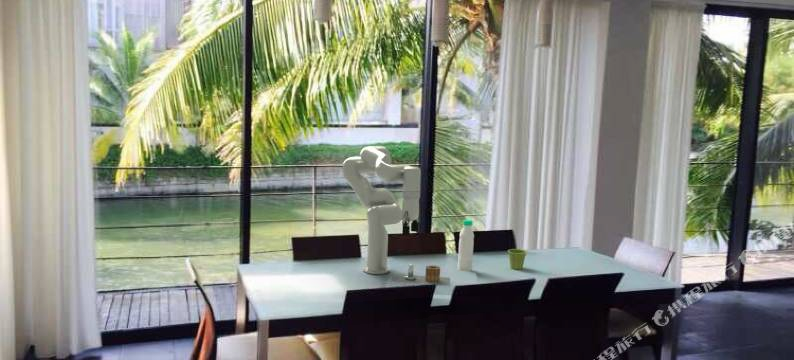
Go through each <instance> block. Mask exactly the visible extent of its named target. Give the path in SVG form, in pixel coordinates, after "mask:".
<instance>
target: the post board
mask: <svg viewBox="0 0 794 360" xmlns="http://www.w3.org/2000/svg"><path fill="white" fill-rule="evenodd" d="M405 275H406V274H399V273H394V274H393V275H392V279H391V282H398V283H413V284H424V285H426V284H427V285H439V286H441V285H442V286H451V277H447V276H445V277H444V276H440V281H439V282H428V281H426V280H425V276H426V275H418V274H417V275H415V274H413V275H414V276H416V280H406V279H405Z"/></svg>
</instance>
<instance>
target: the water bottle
mask: <svg viewBox="0 0 794 360" xmlns="http://www.w3.org/2000/svg"><path fill="white" fill-rule="evenodd" d="M472 226H473V220H471V219H463V221H462V229H461V231H460V232H459V241H458V257H457V261H458V262H457V270H458V271H461V272H462V271H463V272H465V271H467V272H471V271H472V270H473V261H474V260H473V259H474V258H473V254H474V241H475V240H474V238H475V234H474V231H473V229H472Z"/></svg>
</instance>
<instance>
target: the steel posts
mask: <svg viewBox="0 0 794 360" xmlns="http://www.w3.org/2000/svg"><path fill="white" fill-rule="evenodd" d="M414 267H415V266H414V264H411V263H410V264H408V268H407V274H404V275H405V279H406V280H416V276H414V275H415V274H414Z"/></svg>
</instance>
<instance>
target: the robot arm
mask: <svg viewBox="0 0 794 360" xmlns="http://www.w3.org/2000/svg"><path fill="white" fill-rule="evenodd" d="M391 164H392V159H391V152H390V151H389V149H388V148H387V147H385V146H382V145H380V146H379V145H378V146H377V145H376V146H366V147H364V148H362V150H361V151H360V153H359V156H352V157H348V158H346V159H345V160H344V161H343V164H342V173H343V176H344V179H345V180H346V182H347V184H348V185H349V186H350V187H351V188H352V190H353V191H354V193H355V195H356V197H357V198H358V200H359V202H360V204H361V206H362V207H364V208H365V209H368V210H367V211H366V222H367V254H366V265H365V266H364V267H363V269H362V271H363V272H365V273H366V274H371V275H385V274H388V273H390V272H391V268H389V267H387V266H388V247H389V246H388V245H389V244H388V243H389V234H388V230H387V229H386V227H385V226H387V225H388V226H389V225H396V224H397V225H398V224H400V222H401V223H402V224H401V225H402V235H403V236H410V235H411V234H410V233H411V232H416V233H417V232H418V231H419V219H420V216H419V215H420V201H419V200H420V198H421V176H422V175H421V174H422V173H421V168H420V167H417V166H412V165H409V164H392V165H391ZM373 173H376V176H378V178H380V179H382V180H383V181H384V182H387V183H401V182H402V205H401V207H400V205H399V203H398V202H397V200H396V198H395V197H394V195H393V193H392V192H391V191H390V190H389V189H387V188H385V187H384V188H383V187H378V188H377V187H373V186H372V184H371V183H370V181H369V179H367V178H366V177H364V176H363V175H364V174H365V175H366V174H373ZM410 231H411V232H410Z"/></svg>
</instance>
